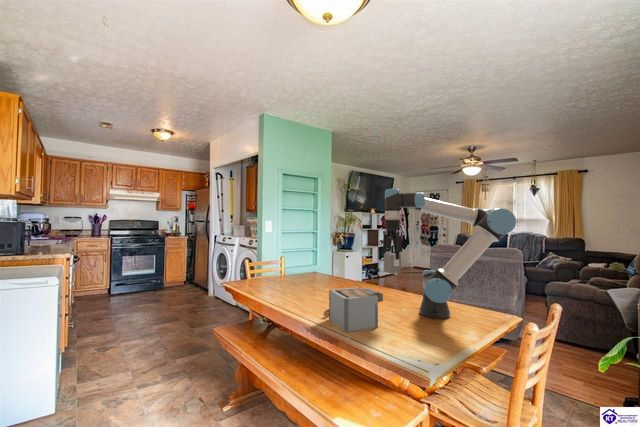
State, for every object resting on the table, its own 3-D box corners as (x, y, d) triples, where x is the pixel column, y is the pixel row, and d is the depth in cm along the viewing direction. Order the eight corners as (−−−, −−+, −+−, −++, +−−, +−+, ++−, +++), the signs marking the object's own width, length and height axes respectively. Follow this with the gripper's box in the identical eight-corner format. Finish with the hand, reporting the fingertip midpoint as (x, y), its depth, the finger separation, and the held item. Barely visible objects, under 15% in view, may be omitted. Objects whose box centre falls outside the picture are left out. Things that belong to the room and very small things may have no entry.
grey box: (358, 315, 154) (358, 287, 155) (377, 327, 137) (377, 295, 137) (329, 319, 148) (329, 289, 149) (345, 332, 131) (345, 298, 132)
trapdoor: (368, 294, 154) (368, 287, 154) (383, 301, 141) (383, 294, 141) (337, 297, 148) (337, 290, 148) (350, 305, 135) (350, 297, 135)
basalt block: (393, 270, 155) (393, 253, 155) (400, 272, 149) (400, 254, 150) (383, 271, 153) (383, 253, 153) (390, 273, 147) (390, 254, 148)
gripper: (375, 219, 159) (375, 262, 159) (397, 219, 142) (397, 268, 141) (388, 219, 162) (388, 262, 161) (410, 219, 144) (410, 267, 144)
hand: (392, 265), depth 151 cm, fingers closed on basalt block, 6 cm apart
